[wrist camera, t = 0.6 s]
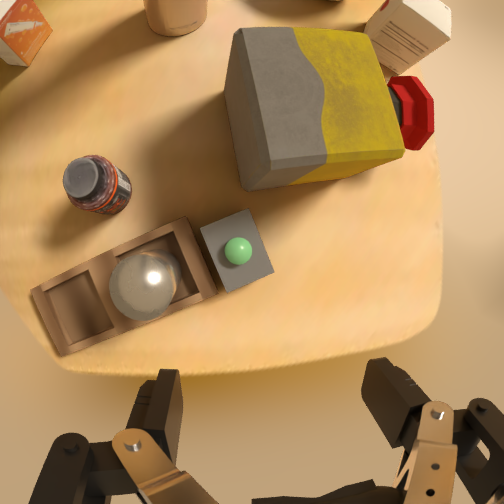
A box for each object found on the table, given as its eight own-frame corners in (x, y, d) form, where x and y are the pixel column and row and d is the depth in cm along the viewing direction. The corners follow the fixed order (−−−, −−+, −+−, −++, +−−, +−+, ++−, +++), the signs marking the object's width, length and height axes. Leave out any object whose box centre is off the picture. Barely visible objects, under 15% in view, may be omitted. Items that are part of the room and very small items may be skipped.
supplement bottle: (104, 224, 36) (68, 220, 25) (84, 186, 35) (45, 171, 24) (141, 198, 37) (116, 185, 26) (120, 161, 36) (91, 135, 25)
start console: (200, 228, 38) (199, 227, 33) (244, 210, 39) (249, 207, 34) (224, 286, 39) (227, 294, 34) (267, 268, 40) (276, 273, 35)
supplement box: (366, 20, 40) (406, -25, 25) (406, 46, 41) (452, 9, 27) (355, 49, 40) (401, 1, 25) (399, 77, 41) (452, 39, 27)
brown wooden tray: (67, 350, 36) (61, 356, 34) (38, 287, 35) (30, 289, 33) (217, 290, 39) (218, 293, 36) (186, 217, 38) (185, 216, 35)
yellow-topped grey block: (397, 173, 42) (466, 154, 27) (241, 193, 39) (263, 169, 24) (374, 84, 41) (428, 43, 26) (222, 89, 37) (233, 24, 23)
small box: (29, 67, 32) (-8, 30, 19) (7, 64, 31) (-29, 32, 18) (54, 29, 32) (26, -13, 19) (31, 28, 31) (2, -9, 18)
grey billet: (127, 260, 36) (99, 270, 25) (170, 241, 37) (156, 244, 26) (147, 303, 37) (126, 329, 26) (189, 285, 38) (183, 306, 27)
